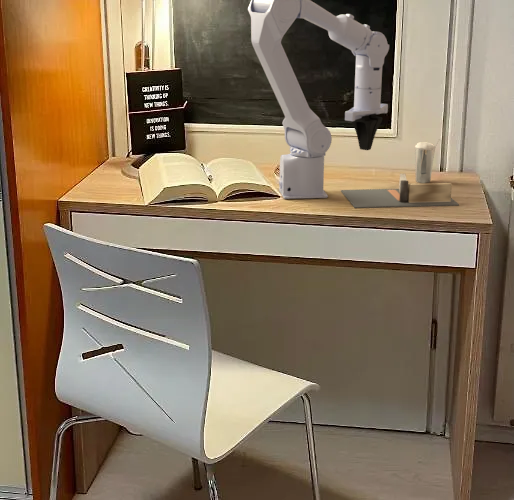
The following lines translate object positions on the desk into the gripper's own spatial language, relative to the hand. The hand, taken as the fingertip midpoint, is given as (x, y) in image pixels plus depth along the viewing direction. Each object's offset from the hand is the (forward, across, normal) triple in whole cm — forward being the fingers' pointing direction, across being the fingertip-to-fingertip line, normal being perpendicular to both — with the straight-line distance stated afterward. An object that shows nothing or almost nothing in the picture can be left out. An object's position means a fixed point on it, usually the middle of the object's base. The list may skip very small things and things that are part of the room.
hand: (365, 149), depth 200 cm
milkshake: (+9, +13, -8) cm, 18 cm away
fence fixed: (+8, -4, -17) cm, 20 cm away
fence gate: (+8, -2, -11) cm, 14 cm away
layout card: (+8, -4, -11) cm, 15 cm away
